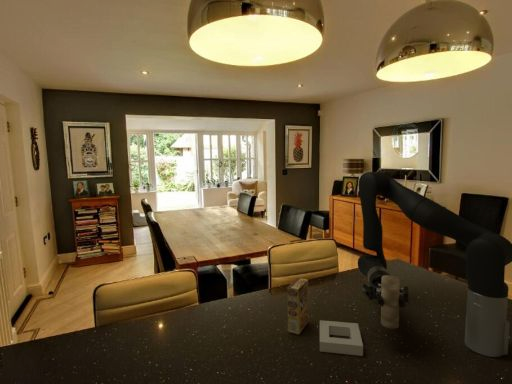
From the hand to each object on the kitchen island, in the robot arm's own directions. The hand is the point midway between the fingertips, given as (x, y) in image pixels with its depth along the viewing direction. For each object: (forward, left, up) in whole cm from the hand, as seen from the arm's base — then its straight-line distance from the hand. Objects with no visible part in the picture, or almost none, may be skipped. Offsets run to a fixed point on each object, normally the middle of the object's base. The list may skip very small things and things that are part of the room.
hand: (392, 303), depth 86 cm
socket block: (+14, -3, -15) cm, 20 cm away
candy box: (+27, -9, -15) cm, 32 cm away
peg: (0, -3, -8) cm, 8 cm away
